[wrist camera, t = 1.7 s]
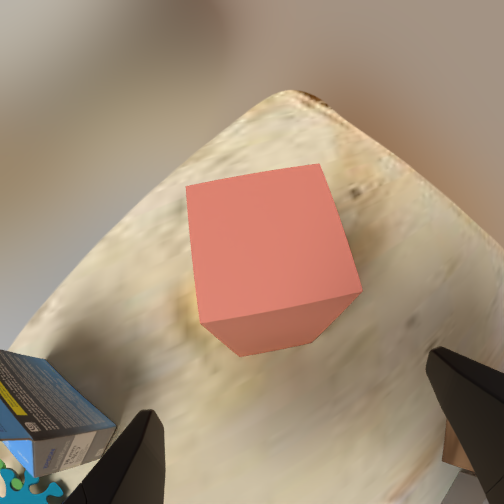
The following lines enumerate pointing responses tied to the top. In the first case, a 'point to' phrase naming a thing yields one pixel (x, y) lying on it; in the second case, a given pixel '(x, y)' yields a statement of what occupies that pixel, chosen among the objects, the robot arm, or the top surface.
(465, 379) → the robot arm
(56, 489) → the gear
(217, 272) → the red block
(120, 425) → the top surface
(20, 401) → the label tape cartridge
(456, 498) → the gray cube
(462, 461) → the walnut cube
